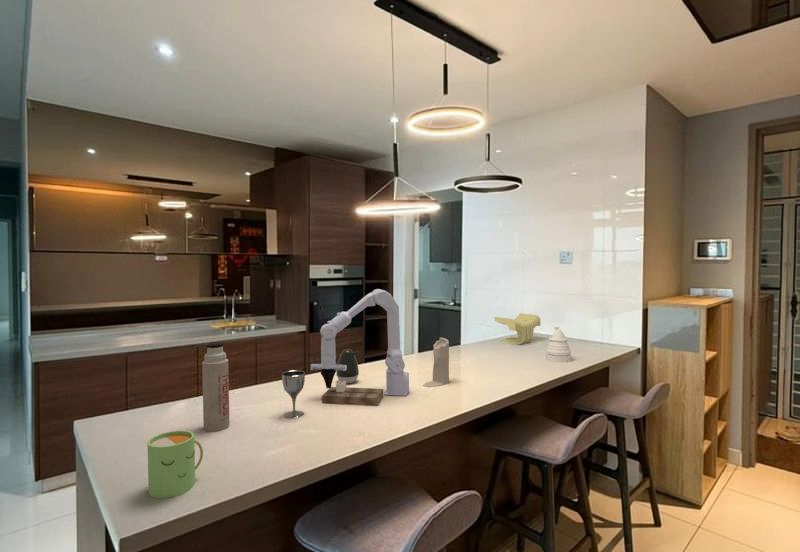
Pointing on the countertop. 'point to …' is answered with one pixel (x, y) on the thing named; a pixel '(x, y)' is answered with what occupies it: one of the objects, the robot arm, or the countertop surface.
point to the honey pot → (558, 348)
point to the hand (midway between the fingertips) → (328, 387)
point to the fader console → (353, 396)
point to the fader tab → (341, 386)
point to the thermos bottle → (215, 389)
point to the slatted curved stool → (521, 327)
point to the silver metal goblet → (293, 389)
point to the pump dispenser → (348, 366)
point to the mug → (172, 463)
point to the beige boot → (440, 363)
